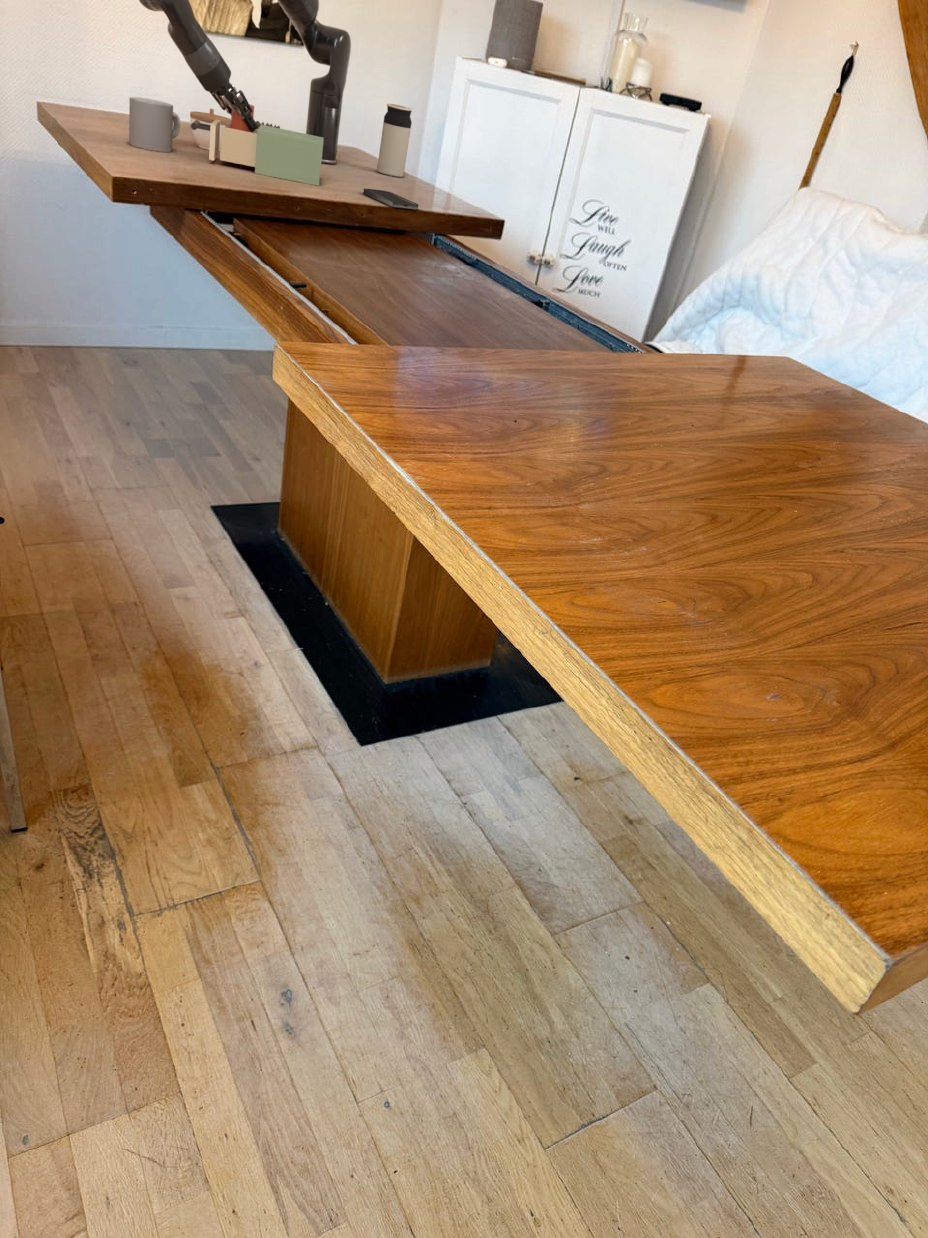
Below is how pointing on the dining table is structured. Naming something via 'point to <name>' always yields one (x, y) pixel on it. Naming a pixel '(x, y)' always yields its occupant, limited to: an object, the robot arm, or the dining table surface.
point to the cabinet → (288, 155)
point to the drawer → (230, 143)
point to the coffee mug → (152, 124)
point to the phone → (390, 199)
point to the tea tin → (240, 120)
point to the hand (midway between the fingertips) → (248, 126)
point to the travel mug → (394, 140)
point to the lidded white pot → (203, 135)
